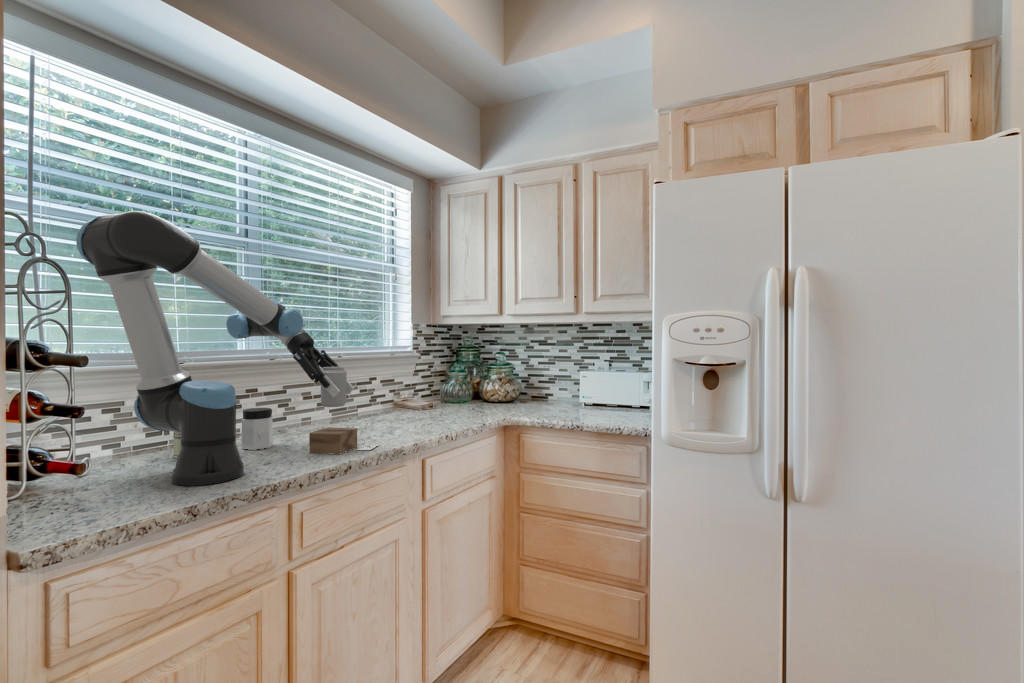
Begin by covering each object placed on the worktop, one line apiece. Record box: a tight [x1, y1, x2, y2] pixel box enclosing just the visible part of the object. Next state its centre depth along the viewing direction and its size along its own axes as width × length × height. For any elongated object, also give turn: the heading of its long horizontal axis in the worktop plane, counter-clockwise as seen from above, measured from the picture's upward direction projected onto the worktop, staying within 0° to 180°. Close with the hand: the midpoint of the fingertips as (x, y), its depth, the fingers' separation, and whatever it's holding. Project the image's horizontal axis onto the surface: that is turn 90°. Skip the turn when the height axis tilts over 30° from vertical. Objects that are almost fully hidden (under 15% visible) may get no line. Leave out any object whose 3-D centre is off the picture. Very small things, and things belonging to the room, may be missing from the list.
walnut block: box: [308, 426, 358, 455], centre depth 155 cm, size 10×10×6 cm
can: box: [320, 366, 348, 408], centre depth 155 cm, size 8×8×12 cm
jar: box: [241, 407, 274, 451], centre depth 160 cm, size 9×8×12 cm
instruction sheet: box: [362, 444, 380, 448], centre depth 158 cm, size 8×5×1 cm, turn 176°
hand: (344, 392), depth 154 cm, fingers closed on can, 7 cm apart
